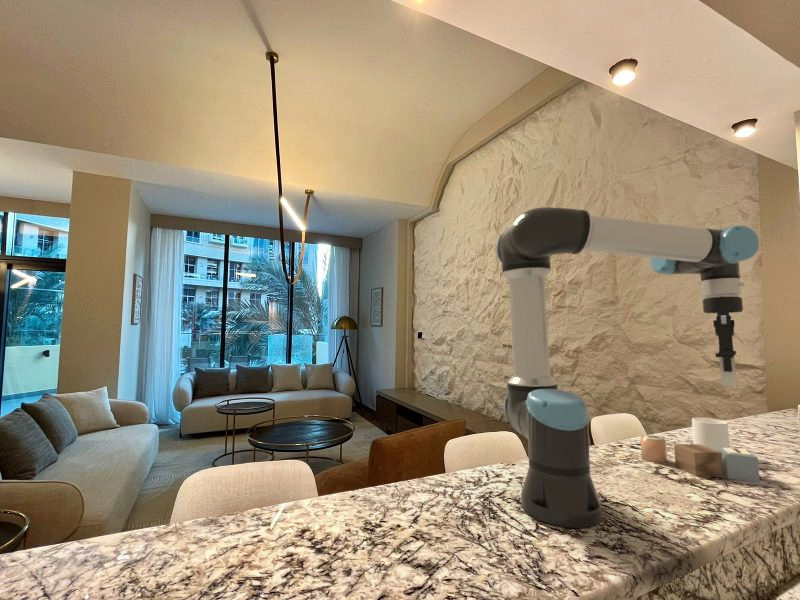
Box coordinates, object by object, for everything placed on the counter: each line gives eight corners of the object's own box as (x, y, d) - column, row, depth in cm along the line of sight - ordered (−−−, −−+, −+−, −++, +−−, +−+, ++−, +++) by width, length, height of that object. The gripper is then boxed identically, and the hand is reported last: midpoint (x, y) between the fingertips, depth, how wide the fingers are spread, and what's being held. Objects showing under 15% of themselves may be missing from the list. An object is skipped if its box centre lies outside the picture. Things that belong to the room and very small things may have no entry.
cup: (688, 453, 113) (686, 419, 114) (708, 448, 118) (706, 415, 119) (722, 462, 105) (719, 425, 106) (742, 455, 111) (739, 420, 112)
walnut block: (695, 477, 95) (694, 452, 95) (675, 467, 102) (674, 444, 102) (723, 477, 95) (721, 452, 95) (701, 467, 102) (699, 444, 102)
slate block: (728, 478, 94) (726, 451, 94) (719, 470, 99) (717, 445, 100) (759, 482, 91) (757, 455, 92) (749, 474, 96) (747, 448, 97)
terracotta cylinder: (647, 462, 105) (646, 438, 106) (637, 455, 111) (636, 433, 111) (671, 464, 104) (669, 439, 104) (660, 457, 110) (659, 434, 110)
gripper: (744, 292, 82) (752, 390, 81) (739, 299, 101) (746, 379, 100) (700, 294, 87) (707, 387, 85) (704, 300, 106) (710, 377, 104)
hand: (728, 383), depth 93 cm, fingers open, 13 cm apart
